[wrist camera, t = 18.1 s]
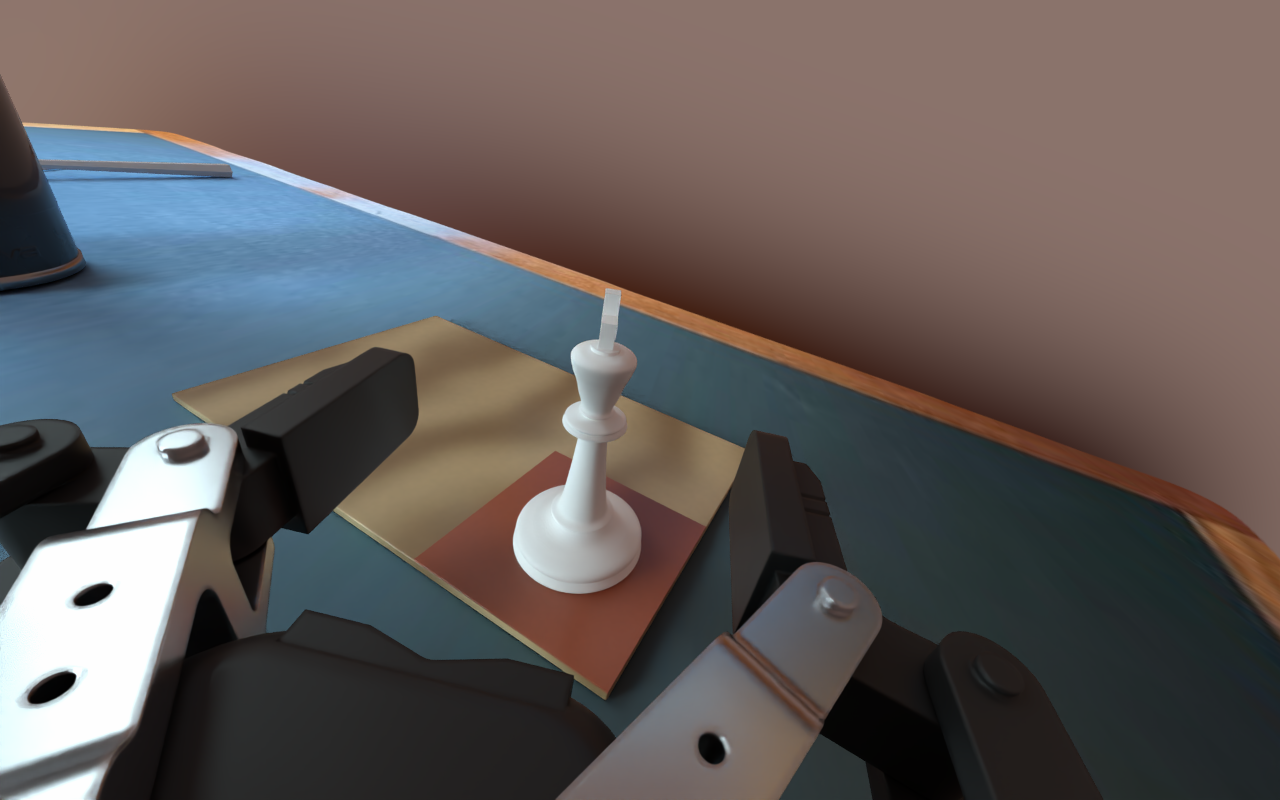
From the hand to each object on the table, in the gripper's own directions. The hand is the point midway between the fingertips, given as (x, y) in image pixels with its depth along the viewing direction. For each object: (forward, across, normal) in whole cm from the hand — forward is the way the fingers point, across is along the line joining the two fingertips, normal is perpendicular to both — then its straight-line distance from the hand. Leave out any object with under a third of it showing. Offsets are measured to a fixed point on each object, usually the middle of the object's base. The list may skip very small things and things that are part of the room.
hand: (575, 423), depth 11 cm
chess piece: (+4, 0, +8) cm, 9 cm away
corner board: (+10, +6, +8) cm, 14 cm away
